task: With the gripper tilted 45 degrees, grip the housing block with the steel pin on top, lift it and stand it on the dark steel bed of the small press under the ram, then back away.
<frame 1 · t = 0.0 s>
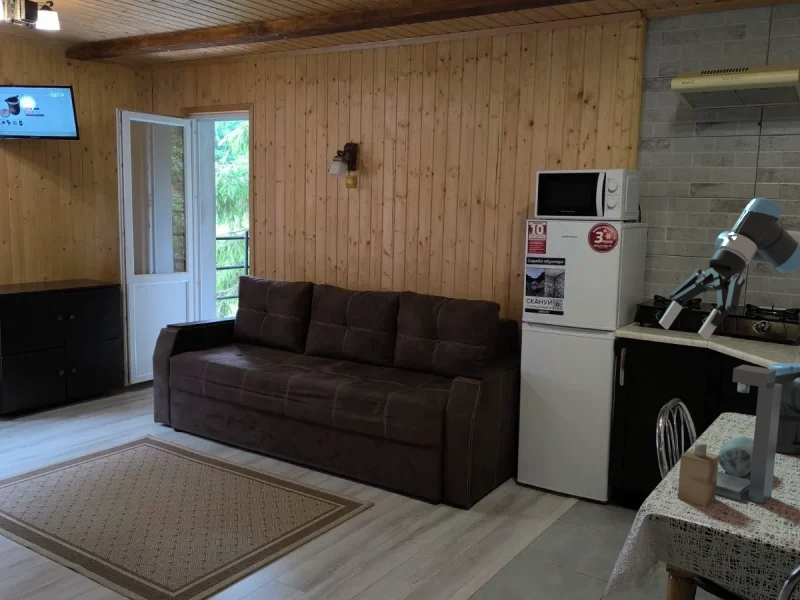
hand: (682, 331, 164), 36 cm above the table, fingers open, 13 cm apart
press: (725, 488, 164), on the table
blue grey streaked ovoid: (738, 472, 176), on the table
housing: (696, 498, 158), on the table
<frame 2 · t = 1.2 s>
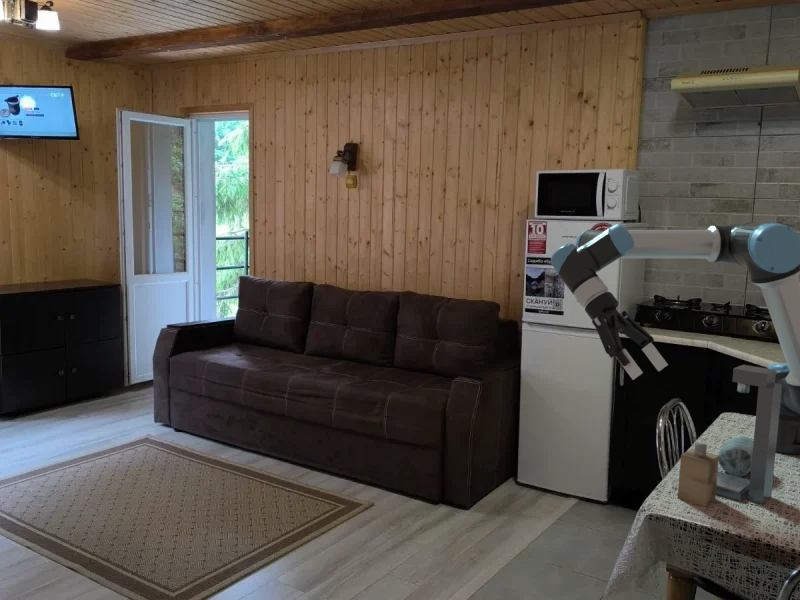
hand: (651, 372, 163), 26 cm above the table, fingers open, 13 cm apart
nothing on the table moved.
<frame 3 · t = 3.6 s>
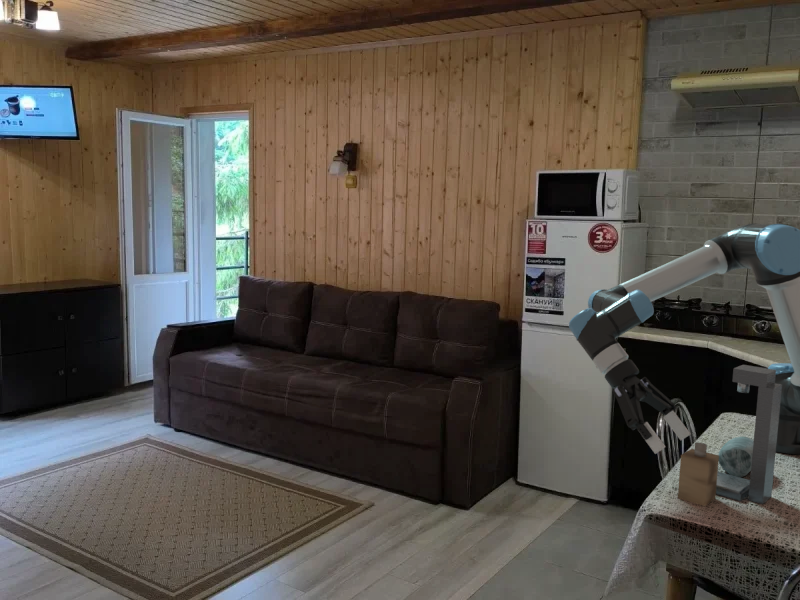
hand: (673, 443, 160), 11 cm above the table, fingers open, 13 cm apart
nothing on the table moved.
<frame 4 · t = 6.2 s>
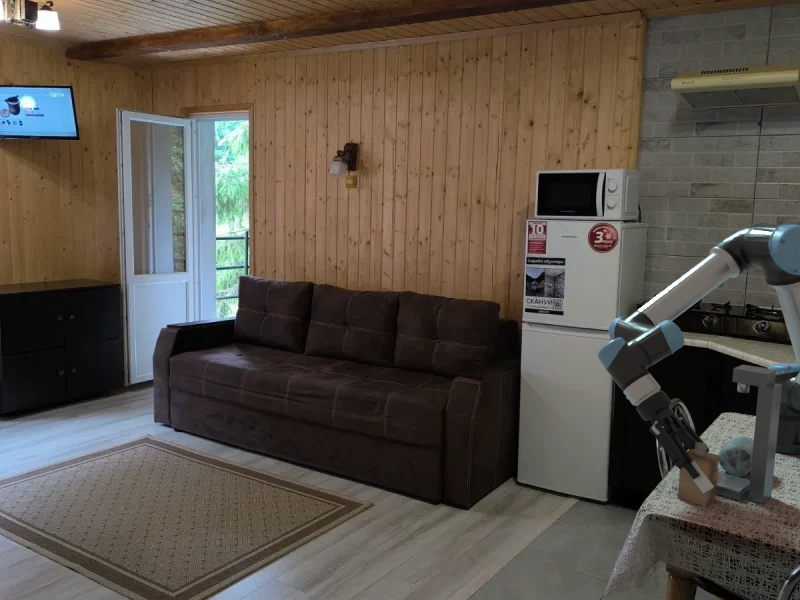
hand: (714, 485, 155), 4 cm above the table, fingers closed on housing, 6 cm apart
housing: (696, 498, 158), on the table, touching gripper
everything else where it was.
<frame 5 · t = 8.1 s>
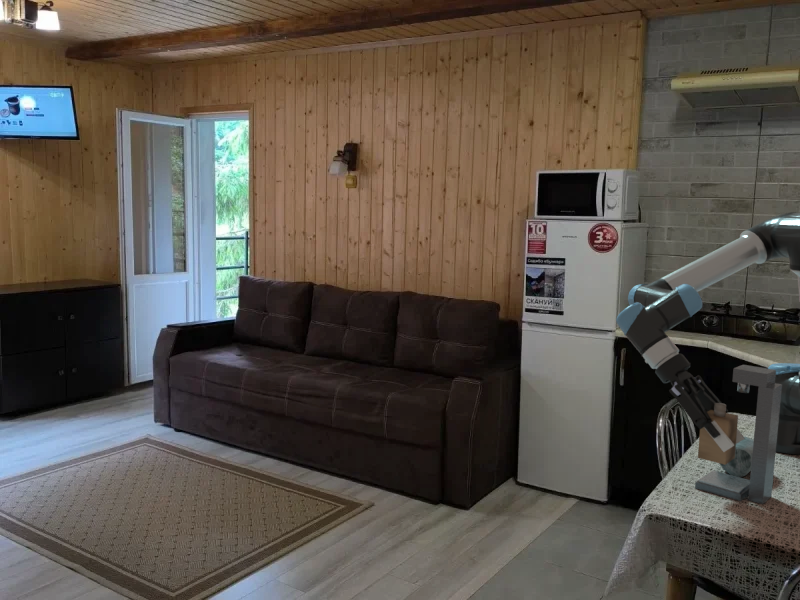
hand: (734, 445, 158), 12 cm above the table, fingers closed on housing, 6 cm apart
housing: (716, 457, 161), point 8 cm above the table, touching gripper
everything else where it was.
when the fingers open (7 cm above the table, at t = 10.2 s): housing drops 1 cm, resting on press.
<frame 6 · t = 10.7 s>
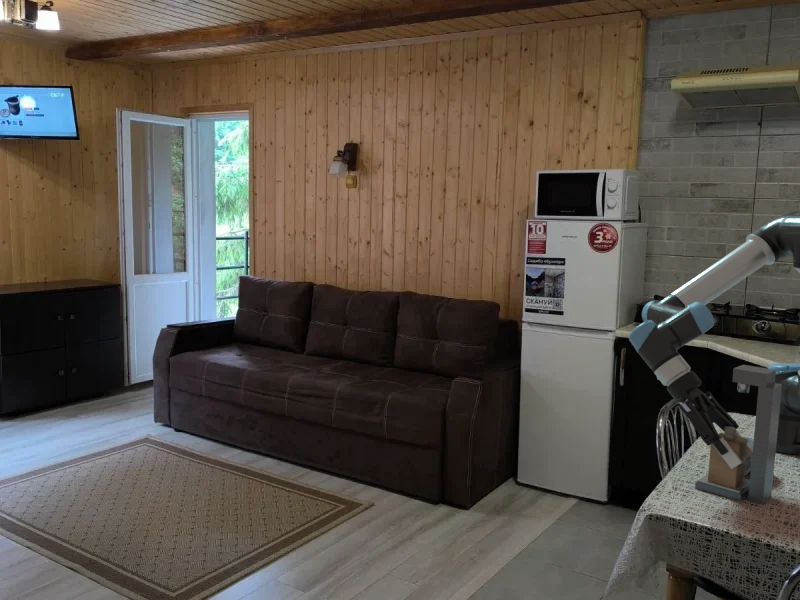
hand: (743, 461, 161), 8 cm above the table, fingers open, 8 cm apart
housing: (725, 480, 164), point 2 cm above the table, touching press
everything else where it was.
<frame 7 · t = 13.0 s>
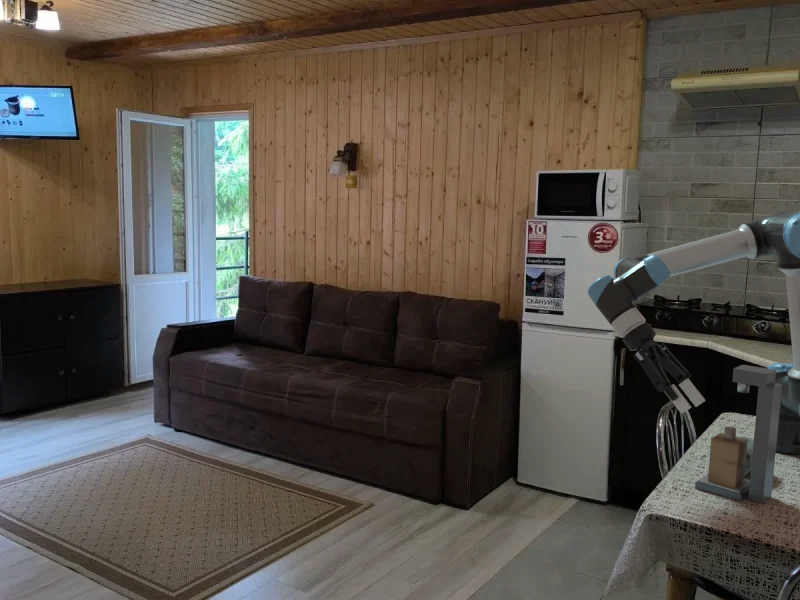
hand: (693, 407, 168), 18 cm above the table, fingers open, 8 cm apart
nothing on the table moved.
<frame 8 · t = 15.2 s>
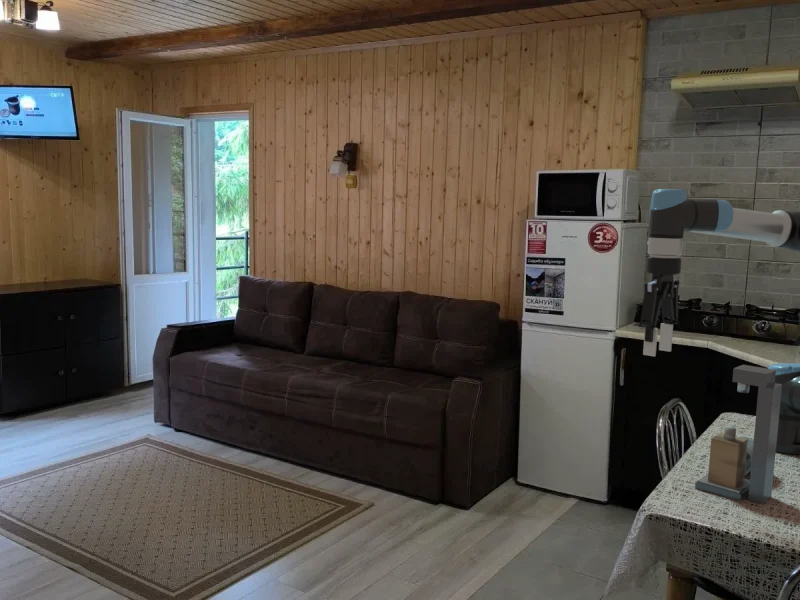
hand: (657, 352, 167), 30 cm above the table, fingers open, 8 cm apart
nothing on the table moved.
at the end: housing 0.0 cm off-centre on the press, point 2.0 cm above the press's base; housing tilted 0°; the gripper is holding nothing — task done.
